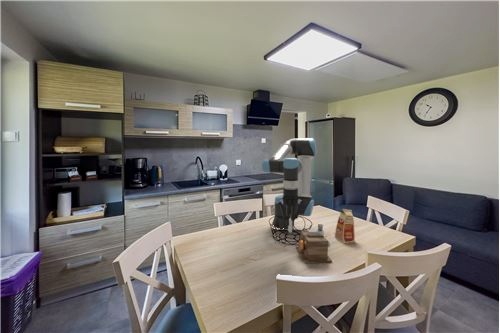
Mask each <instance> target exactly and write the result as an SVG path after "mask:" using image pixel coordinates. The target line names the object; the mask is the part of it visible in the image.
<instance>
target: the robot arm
mask: <svg viewBox="0 0 500 333" xmlns="http://www.w3.org/2000/svg"><path fill="white" fill-rule="evenodd" d="M317 154H318V152H317V143H316V139H314V138H313V137H311V138H309V137H304V138H301V137H300V138H290V139H289V138H288V139H287V140H285V141H283V142H281V143H280V145H279V147H278V149H277V151H275V153H274V154H273V155H272V156H271V158H270V159H268V158H266V159H263V160H262V164H261V168H262V171H263V172H264V173H269V174H270V173H276V174H283V182H282V184H283V186H282V187H283V189H282V190H283V191H282V192H283V194H281V195H277V196H275V198H274V217H273V221H272V223H271V226H272V225H274V226H275V227H277V228H280V229H283V228H284V229H288V231H287V232H288V233H293V229H294V226H295V220H297V219H298V218H299V216H300V217H310V216H312V213H313V210H314V205H315V200H314V199H313V196H312V195H311V178H312V160H313V159H315V156H317ZM290 155H297V158H296V157H289V156H290ZM292 228H293V229H292Z"/></svg>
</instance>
